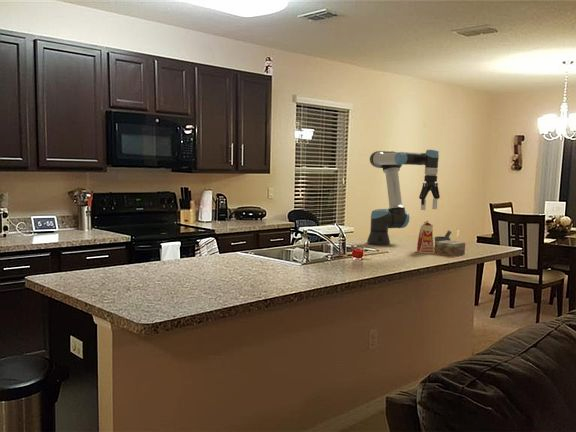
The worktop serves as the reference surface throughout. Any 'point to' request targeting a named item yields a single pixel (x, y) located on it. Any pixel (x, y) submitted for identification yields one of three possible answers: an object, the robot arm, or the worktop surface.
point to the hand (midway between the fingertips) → (428, 209)
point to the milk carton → (425, 239)
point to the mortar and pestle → (443, 237)
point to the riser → (450, 248)
